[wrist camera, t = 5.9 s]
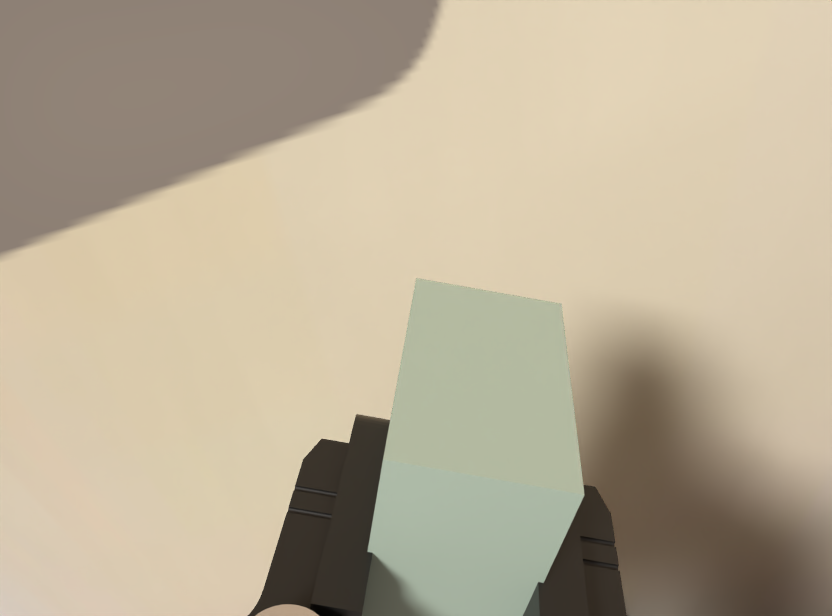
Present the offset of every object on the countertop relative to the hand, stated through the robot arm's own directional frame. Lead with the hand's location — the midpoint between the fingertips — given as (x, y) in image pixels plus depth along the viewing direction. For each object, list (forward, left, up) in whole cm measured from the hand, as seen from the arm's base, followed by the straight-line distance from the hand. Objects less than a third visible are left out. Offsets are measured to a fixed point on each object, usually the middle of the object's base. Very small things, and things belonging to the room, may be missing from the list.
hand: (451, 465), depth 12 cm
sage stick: (+8, 0, -1) cm, 8 cm away
